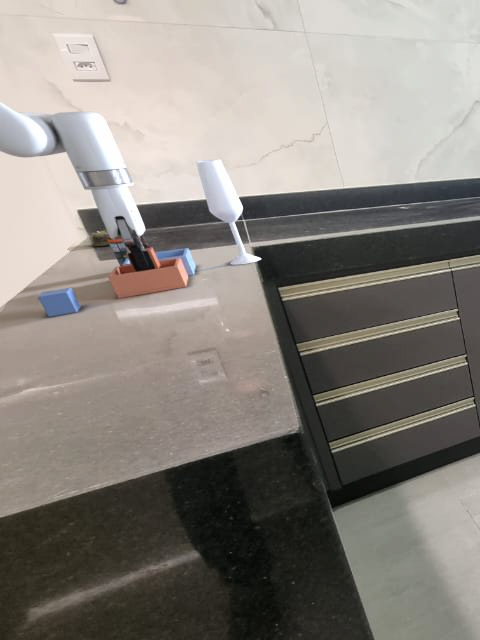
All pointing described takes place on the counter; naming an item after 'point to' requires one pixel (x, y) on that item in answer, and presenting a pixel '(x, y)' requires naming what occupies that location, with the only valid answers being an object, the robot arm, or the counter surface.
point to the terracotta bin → (148, 278)
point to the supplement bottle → (118, 249)
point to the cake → (100, 238)
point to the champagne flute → (223, 201)
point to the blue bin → (178, 253)
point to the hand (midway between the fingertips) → (147, 267)
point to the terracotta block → (153, 257)
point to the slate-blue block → (59, 302)
